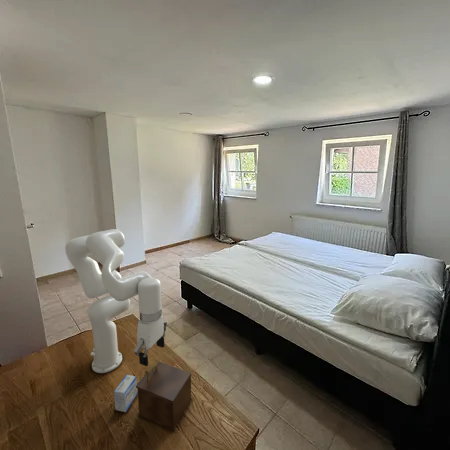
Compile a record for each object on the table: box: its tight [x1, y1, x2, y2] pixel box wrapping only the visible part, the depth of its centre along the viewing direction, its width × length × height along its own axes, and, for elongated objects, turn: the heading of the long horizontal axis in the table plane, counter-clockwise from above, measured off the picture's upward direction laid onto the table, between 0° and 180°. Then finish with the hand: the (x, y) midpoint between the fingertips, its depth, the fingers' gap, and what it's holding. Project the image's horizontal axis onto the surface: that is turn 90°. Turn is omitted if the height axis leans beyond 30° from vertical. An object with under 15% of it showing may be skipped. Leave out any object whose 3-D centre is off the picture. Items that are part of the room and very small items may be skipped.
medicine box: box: [113, 374, 138, 413], centre depth 93 cm, size 8×4×9 cm, turn 168°
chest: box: [137, 374, 192, 431], centre depth 91 cm, size 15×13×12 cm
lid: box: [136, 359, 192, 403], centre depth 90 cm, size 15×13×5 cm
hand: (152, 354), depth 90 cm, fingers open, 9 cm apart
